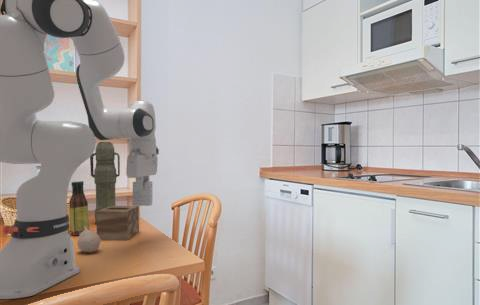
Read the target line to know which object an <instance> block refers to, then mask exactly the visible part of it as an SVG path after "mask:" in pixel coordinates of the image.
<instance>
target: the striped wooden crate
mask: <svg viewBox="0 0 480 305" xmlns="http://www.w3.org/2000/svg"><path fill="white" fill-rule="evenodd" d="M139 213H140V206H133V205H116V206H109V207H107V208H104V209H101V210H99V211H96V217H97V225H96V233H97V234H98V235H99V237H100V239H101V241H128V240H130V239H131V238H132V237H134V236H135V235H137V234H138V233H139V232H140V214H139Z"/></svg>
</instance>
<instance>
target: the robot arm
mask: <svg viewBox="0 0 480 305" xmlns="http://www.w3.org/2000/svg"><path fill="white" fill-rule="evenodd" d="M48 35H49V36H50V37H55V38H59V39H68V38H70V39H71V40H72V42H73V45H74V47H75V49H76V52H77V54H78V56H79V64H78V66H77V67H76V69H75V70H76V71H75V75H76V77H75V78H76V81H77V85H78V86H77V87H78V90H79V92H80V93H79V94H80V95H81V99H82V103H83V105H84V109H85V112H86V116H87V122H88V124H86V123H81V122H80V123H79V122H77V121H71V120H39V119H38V118H37V116H36V114H37V113H39V112H41V111H43V110H45V109H46V108H48V107H49V106H50V105H51V104H52V102H53V101H54V99H55V90H54V86H53V80H52V78H51V74H50V69H49V65H48V61H47V58H46V56H45V41H46V39H47V36H48ZM124 63H125V51H124V49H123V45H122V41H121V39H120V37H119V35H118V32H117V30H116V28H115V26H114V24H113V21H112V19H111V18H110V16H109V14H108V12H107V10H106V9H105V7H104V6H103V5H102V4H101V3H100V2H98V1H97V0H2V3H1V6H0V163H4V164H11V165H12V164H13V165H23V164H24V165H25V164H27V165H29V164H31V165H32V164H37V165H38V164H39V165H40V168H39V169H40V170H39V172H38V174H37V175H36V176H34V177H32V178H30V179H28V180H26V181H24V182H23V183H22V184H21V185H20V186H18V189H17V191H16V194H15V195H16V196H15V198H16V219H15V220H14V223H13V225H7V224H6V225H4V226H3V228H2V233H3V234H4V235H10V236H11V237H10V239H9V241H7V243H6V244H5V245H4V246H3V247H2V249H1V250H0V300H11V299H13V300H14V299H21V298H27V297H31V296H34V295H37V294H39V293H41V292H43V291H44V290H46V289H49V288H51V287H53V286H55V285H57V284H58V283H60V282H62V281H65V280H66V279H69V278H71V277H72V276H75V275H76V274H77V275H78V274H79V273H80V272H81V271H80V266H78V265H76V256H75V255H76V254H75V247H74V240H73V238H72V237H71V236H70V235H71V234H69V231H68V230H69V228H70V215H69V214H68V192H69V185H70V181H71V179H72V177H73V175H74V173H75V172H76V170H77V169H78V168H79V167H80V166H81V165H82V164H83V163H85V161H87V160H88V159H90V156H91V155H92V154H93V153H95V152H94V151H95V150H96V146H97V144H96V139H98V140H100V141H108V140H115V139H117V140H121V139H123V140H124V139H128V155H127V159H126V170H125V171H126V173H125V174H126V177H127V178H128V179H129V178H130V179H135V181H136V183H137V189H138V191H141V190H144V185H143V181H150V176H156V175H157V172H158V155H159V154H160V150H159V148H158V146H157V141H156V140H157V139H156V136H155V135H156V134H155V132H156V128H157V127H156V126H157V125H156V114H155V108H154V104H153V103H151V102H148V101H144V100H134V101H132V102H131V103H130V106H128V107H124V108H123V107H121V108H118V107H117V108H110V107H107V106H105V105H104V103H103V98H102V95H101V90H100V87H99V86H100V84H102V83H103V82H105V81H108V80H110V79H112V78H113V77H115V75H117V74H118V73H120V70H122V68H123V67H124Z"/></svg>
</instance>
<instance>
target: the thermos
mask: <svg viewBox="0 0 480 305" xmlns="http://www.w3.org/2000/svg"><path fill="white" fill-rule="evenodd" d="M94 156H95V162H96V163H95V167H94ZM115 156H117V168H116V165H115V164H116V163H115ZM120 158H121V156H120V154H119V153H118V152H115V146H114V144H113V142H110V141H99V142H97V144H96V145H95V152H93V153H92V155H91V156H90V157H89V162H90V163H89V164H90V176H91V177H92V178H93V179H94V184H95V210H94V220H95V223H94V224H95V225H96V226H97V217H96V211H99V210H101V209H104V208H107V207H109V206H117V205H116V183H117V178H118V177H120V173H121V172H120V171H121V170H120V168H121V167H120V164H121V162H120Z"/></svg>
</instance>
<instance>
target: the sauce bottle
mask: <svg viewBox="0 0 480 305" xmlns="http://www.w3.org/2000/svg"><path fill="white" fill-rule="evenodd" d="M84 183H85V182H84V181H83V180H77V181H71V190H72V192H71V193H72V195H71V197H70V198H69V227H70V232H71V234H70V235H71V236H76V237H77V236H78V237H79V235H80V233H81V232H82V231H84V230H85V228H84V226H86V227H87V229H88V230H89V231H90V220H89V218H90V216H89V203H88V200H87V198H86V195H85V192H84Z"/></svg>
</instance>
